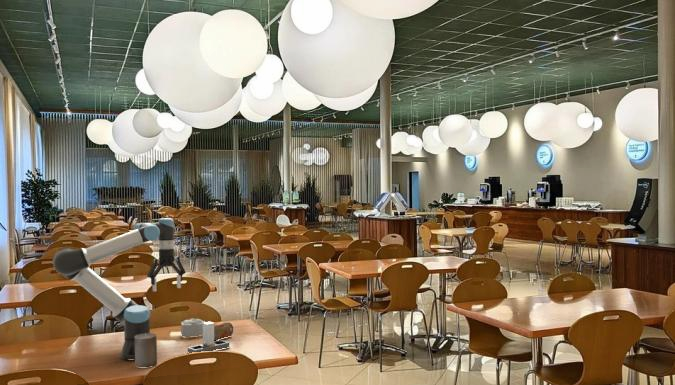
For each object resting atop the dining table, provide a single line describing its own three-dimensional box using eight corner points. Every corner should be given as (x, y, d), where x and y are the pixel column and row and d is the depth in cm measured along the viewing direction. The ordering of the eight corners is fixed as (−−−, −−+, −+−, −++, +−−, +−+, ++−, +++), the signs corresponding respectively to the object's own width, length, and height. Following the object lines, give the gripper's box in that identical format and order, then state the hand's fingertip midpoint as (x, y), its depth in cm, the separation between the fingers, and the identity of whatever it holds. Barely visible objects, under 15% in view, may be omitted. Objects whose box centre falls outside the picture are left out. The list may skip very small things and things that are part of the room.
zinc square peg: (207, 352, 288) (207, 324, 288) (203, 351, 291) (202, 322, 291) (214, 351, 291) (214, 322, 291) (210, 349, 294) (209, 321, 294)
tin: (212, 342, 307) (212, 326, 307) (208, 341, 309) (208, 325, 308) (233, 336, 319) (233, 321, 319) (229, 335, 321) (229, 320, 320)
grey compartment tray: (195, 356, 282) (195, 349, 282) (187, 353, 287) (187, 346, 287) (229, 348, 295) (229, 341, 295) (221, 345, 300) (221, 339, 300)
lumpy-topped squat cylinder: (180, 334, 325) (180, 318, 325) (204, 332, 329) (204, 316, 329) (182, 338, 315) (182, 322, 315) (207, 336, 320) (206, 320, 320)
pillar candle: (159, 362, 273) (159, 329, 273) (153, 368, 263) (153, 335, 263) (138, 362, 273) (137, 330, 273) (132, 369, 263) (131, 335, 263)
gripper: (147, 250, 291) (147, 293, 291) (191, 247, 308) (192, 287, 308) (140, 249, 296) (140, 291, 296) (184, 246, 314) (184, 285, 314)
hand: (166, 289), depth 302 cm, fingers open, 13 cm apart
